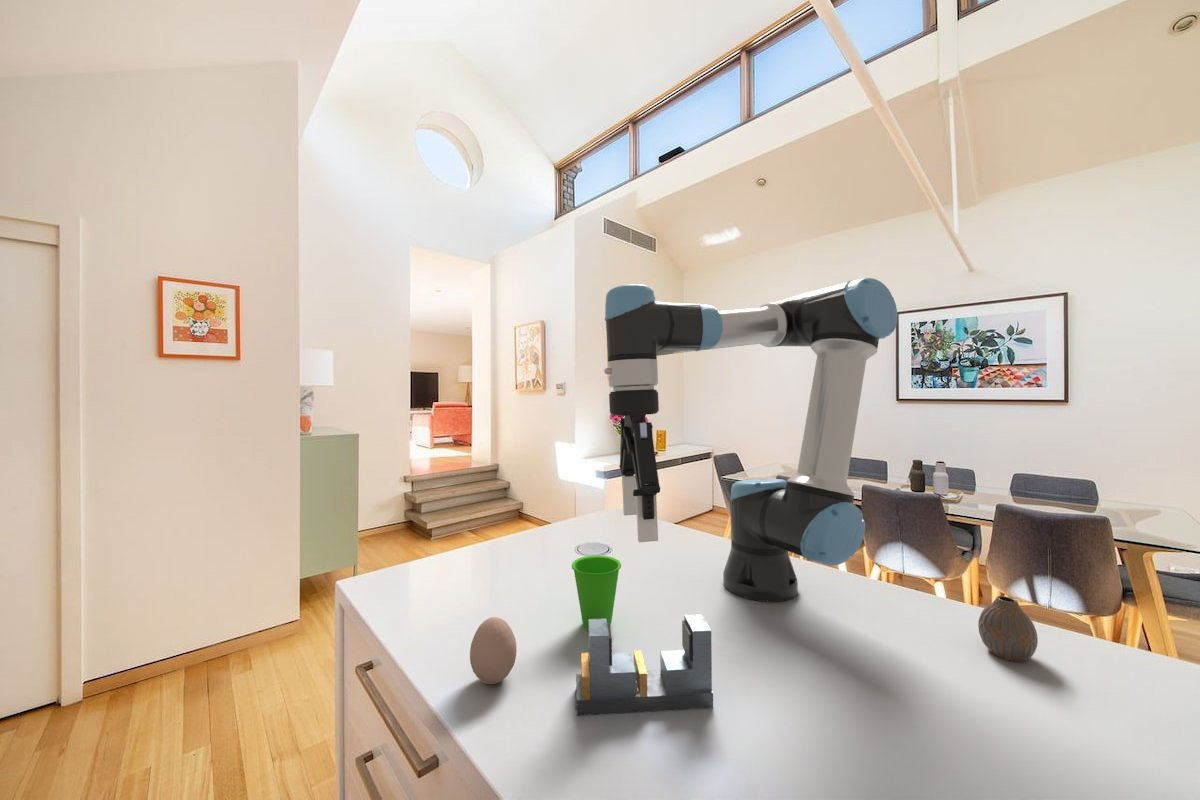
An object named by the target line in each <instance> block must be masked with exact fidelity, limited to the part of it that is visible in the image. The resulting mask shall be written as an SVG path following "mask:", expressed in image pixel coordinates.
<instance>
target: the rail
mask: <svg viewBox="0 0 1200 800" xmlns="http://www.w3.org/2000/svg"><path fill="white" fill-rule="evenodd" d="M683 617H684V618H683V619H684V620H681V630H682V631H681V633H682V634H681V635H682V636H681V638H682V639H681V640H682V641H681V642H682V647H683V649H677V650H660V653H659V654H660V658H659V659H660V669H655V670H647V669H646V668H647V667H646V665H645V664H646V663H645V661H644V657H643V654H642V650H641V649H637V650H635V649H634V650H633V662H634V666H635V671H636V695H622V696H604V697H591V696H590V670H589V652H581V654H580V657H581V658H580V660H581V662H580V663H581V664H580V665H581V670H580V671H581V672H580V673H579V674H578V673H577V674H576V675H575V684H576V685H575V686H576V687H575V689H576V690H575V691H576V716H577V717H579V716H581V717H583V716H596V715H598V716H600V715H614V714H633V713H635V714H636V713H650V712H651V713H652V712H667V711H668V712H669V711H685V710H704V709H714V692H713V685H712V684H713V672H712V671H713V669H712V668H713V666H712V663H713V662H712V661H713V659H712V658H713V657H712V656H713V655H712V653H713V651H712V629H711V628H710V626H709V624H708V623H707V620H705V619H706V618H705V617H704V616H703V615H702V614H699V613H698V614H697V613H696V614H684V615H683Z"/></svg>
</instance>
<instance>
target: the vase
mask: <svg viewBox="0 0 1200 800" xmlns="http://www.w3.org/2000/svg"><path fill="white" fill-rule="evenodd" d="M977 625H978V633H979V635H980V639H981V641H982V643H983V644H984V645H985V647H986V648H987V649H988V650H989V651H990V652H991V653H993V654H994V655H995V656H997V657H999V658H1001V659H1004V660H1008V661H1011V662H1024V661H1027V660H1028V659H1030V658H1031V657H1033V656H1034V654H1036V651H1037V648H1038V643H1039V642H1038V639H1039V638H1038V637H1039V636H1038V632H1037V629H1036V626H1035V624H1034V622H1033V621H1032V619H1031V618H1030V617H1029V615H1027V614H1026V612H1025V611H1024V610H1023V609H1022V608H1021V606H1020V605H1019V603H1018V600H1016V599H1015V598H1013V597H1010V596H1005V595H998V596H996V597H995V599H994V601H992V602H991V603H990V604H989V605H987V606H986V607H985V608H984V609H982V611H981V613H980V615H979V618H978V624H977Z"/></svg>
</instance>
